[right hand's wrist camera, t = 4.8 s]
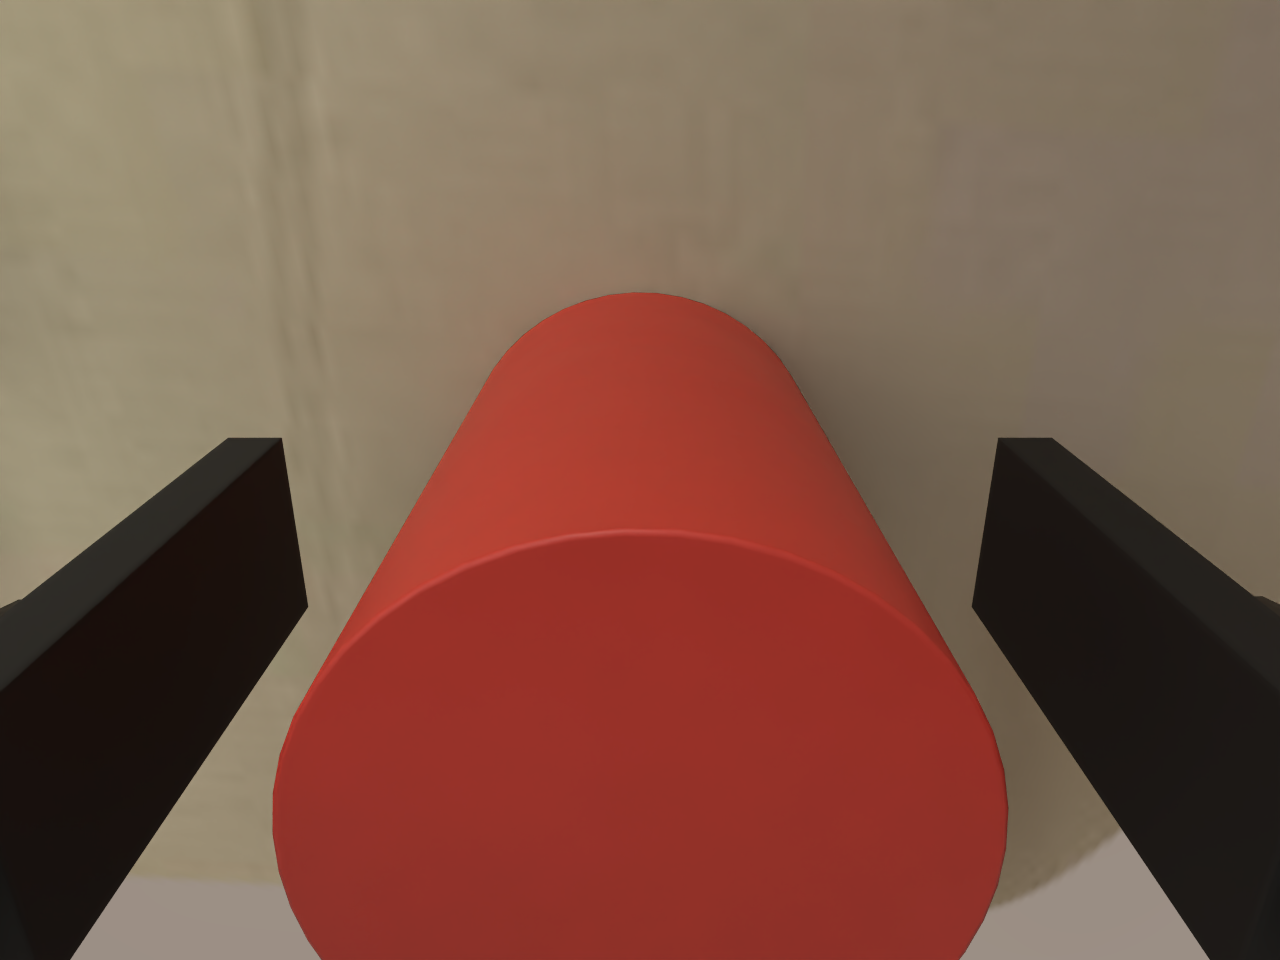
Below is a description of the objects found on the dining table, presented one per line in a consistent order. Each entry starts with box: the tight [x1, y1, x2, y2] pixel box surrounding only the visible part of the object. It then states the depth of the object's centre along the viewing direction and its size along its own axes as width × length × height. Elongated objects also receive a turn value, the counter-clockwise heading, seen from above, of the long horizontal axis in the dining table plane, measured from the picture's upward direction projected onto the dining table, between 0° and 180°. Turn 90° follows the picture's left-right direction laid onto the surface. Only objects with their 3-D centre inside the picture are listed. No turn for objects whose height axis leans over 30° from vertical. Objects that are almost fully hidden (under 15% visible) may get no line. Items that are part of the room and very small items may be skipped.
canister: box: [273, 293, 1008, 960], centre depth 11 cm, size 6×6×9 cm
